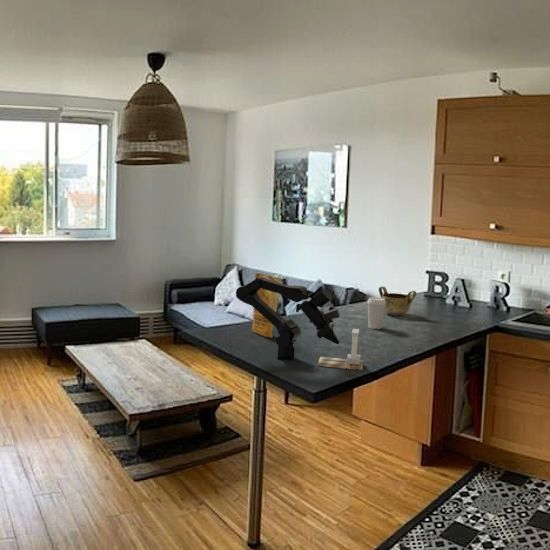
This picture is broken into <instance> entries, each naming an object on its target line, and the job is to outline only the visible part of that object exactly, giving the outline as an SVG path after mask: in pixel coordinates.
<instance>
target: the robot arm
mask: <svg viewBox="0 0 550 550" xmlns="http://www.w3.org/2000/svg"><path fill="white" fill-rule="evenodd" d="M261 288H262V289H265V290H269V291H272V292H275V293H279V294H280V295H283V296H285V298H287V299H288V300H290V301H291V302H294V303H297V304H296V305H295V307H296V309H295V312H296V313H297V312H299V311H302V313H303V314H304V315H305V316H306V318H307V319H308V321H309V323H311V324H312V325H313V326H314V327H315V330H316V336H317V338H318V339H322V338H324V339H326V340H328V341H331V342H332V343H334V344H336V345H339V344H340V340H339V338H338V337H337V335H336V332H335V330H334V326H335V325H334V323H333V322H334V319H338V318H340V316H341V315H340V312H339V309H338V308H337V307H334V306H333V305H332V306H329V307H328V310H326V311H323V310H322V309H320V308H323V307H324V306H325V305H327V304H328V303H330V301H332V300H333V295H332V293H331V292H330V290H328V289H327V288H325V287H324V286H323V285H321V286H318V287H317V289H315V290H314V291H312V290H309V289H307V287H306V286H304V285H289V284H284V283H283V284H282V283H278V282H275V281H272V280H268V279H265V278H263V277H260V278H256V279H255V278H254V279H253V280H252V281H251V282H249V283H247V284H245V285H242V286H239V287H237V288H236V290H235V297H236V299H238V300H239V301H241V302H243V303H244V304H246V305H249V306H251V307H252V308H253V309H254V308H255V309H256V310H257V311H258V312H259V313H260V314H261V315H263V316H264V317H265V318H266V319H267V320H268V321H269V322H270V323H271V324H273V327H275V329H276V331H277V333H278V336H277V337H276V338H275V344H276V345H277V357H276V359H277V360H288V361H290V360H291V361H293V360H294V358H295V355H296V346H295V343H296V341H297V339H299V337H300V336H301V328H300V327H299V324H297V323H295V321H294V320H293V319H291V318H290V319H284V318H283V317H282V316H281V315H279V313H278V312H277V311H276V312H275V311H274V310H273V309H272V308H270V307H269V306H268V305H267V304H266V303H265V302H264V301H263V300H261V299H260V297H259V295H258V293H257V291H258V290H259V289H261ZM308 299H309V300H308ZM302 301H303V302H302ZM301 302H302V303H301ZM331 323H333V324H331Z"/></svg>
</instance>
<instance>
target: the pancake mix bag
mask: <svg viewBox="0 0 550 550" xmlns="http://www.w3.org/2000/svg"><path fill="white" fill-rule="evenodd" d="M260 277H263V278H265V279H268V280H272V281H275V282H278V283H282V284H284V282H283V281H284V280H283V279H282V278H281V277H278V276H277V277H276V276H273V275H271V274H270V275H269V274H265V273H259V272H257V273H254V280H255V279H256V278H260ZM257 293H258V295H259V297H260V299H261V300H263V301H264V302H265V303H266V304H267V305H268V306H269V307H270V308H272V309H273V310H274V311H275V312H276V313H277V309H278V305H279V301H280V297H281V294H279V293H275V292H272V291H269V290H265V289H262V288H261V289H259V290H258V291H257ZM252 319H253V320H252V328H251V330H252V331H253V333H254V334H256V333H257V335H260V336H261V337H264V338H274V336H273V328H274V325H273V324H271V323H270V322H269V321H268V320H267V319H266V318H265V317H264V316H263V315H261V314H260V313H259V312H258V311H257V310H256V309H255V308H254V307H253V318H252ZM252 331H251V332H252Z"/></svg>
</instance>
